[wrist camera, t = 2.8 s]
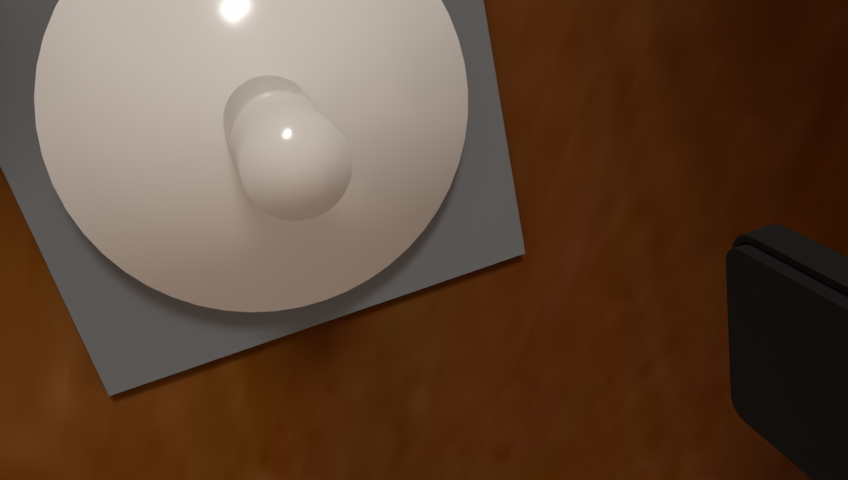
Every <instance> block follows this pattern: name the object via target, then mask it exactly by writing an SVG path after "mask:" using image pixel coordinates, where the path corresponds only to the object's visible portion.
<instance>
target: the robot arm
mask: <svg viewBox="0 0 848 480" xmlns="http://www.w3.org/2000/svg"><path fill="white" fill-rule="evenodd" d="M726 275H727V302H728V328H729V355H730V382H731V398H732V402H733V405H734V408H735V410H736V412H737V413H738V415H739V416H740V417H741V418H742V419H743V420H744V421H745V422H746V423H747V424H748V425H749V426H750V427H752V428H753V429H754V430H755V431H756V432H758V433H759V434H760V435H761V436H762V437H764V438H765V439H766V440H767V441H768V442H770V443H771V444H772V445H773V446H774V447H775V448H777V449H778V450H779V451H780V452H781V453H783V454H784V455H785V456H786V457H787V458H789V459H790V460H791V461H792V462H793V463H795V464H796V465H797V466H798V467H799V468H800V469H802V470H803V471H804V472H805V473H806V474H808V475H809V476H810V477H811V478H812V479H814V480H848V257H846V256H844V255H842V254H840V253H838V252H836V251H834V250H832V249H829V248H827V247H825V246H823V245H821V244H819V243H817V242H815V241H813V240H811V239H809V238H807V237H804V236H802V235H800V234H798V233H796V232H794V231H792V230H790V229H788V228H786V227H784V226H781V225H778V224H772V225H768V226H765V227H762V228H760V229H757V230H754V231H751V232H748V233H746V234H743V235H740V236H738V237H737V238H736V239H735V241H734V243H733V249H731V250H730V251H728V253H727V256H726Z"/></svg>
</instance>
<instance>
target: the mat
mask: <svg viewBox="0 0 848 480" xmlns="http://www.w3.org/2000/svg"><path fill="white" fill-rule="evenodd" d="M58 1H59V0H0V166H1V168H2V171H3V173H4V175H5V177H6V179H7V181H8V183H9V185H10V188H11V190H12V192H13V194H14V196H15V198H16V200H17V202H18V205H19V207H20V209H21V211H22V213H23V215H24V217H25V219H26V221H27V224H28V226H29V228H30V230H31V232H32V234H33V236H34V238H35V241H36V243H37V245H38V247H39V249H40V251H41V253H42V255H43V257H44V260H45V262H46V264H47V266H48V268H49V270H50V272H51V274H52V277H53V279H54V281H55V283H56V285H57V287H58V289H59V291H60V293H61V296H62V298H63V300H64V302H65V304H66V306H67V308H68V310H69V313H70V315H71V317H72V319H73V321H74V323H75V325H76V327H77V329H78V332H79V334H80V336H81V338H82V340H83V342H84V344H85V346H86V349H87V351H88V353H89V355H90V357H91V359H92V361H93V363H94V365H95V368H96V370H97V372H98V374H99V376H100V378H101V380H102V382H103V385H104V387H105V389H106V391H107V393H108V395H109V396H111V395H114V394H117V393H120V392H123V391H126V390H129V389H132V388H135V387H137V386H140V385H143V384H146V383H149V382H152V381H155V380H158V379H161V378H164V377H167V376H170V375H172V374H175V373H178V372H181V371H184V370H187V369H190V368H193V367H196V366H199V365H202V364H204V363H207V362H210V361H213V360H216V359H219V358H222V357H225V356H228V355H231V354H234V353H237V352H239V351H242V350H245V349H248V348H251V347H254V346H257V345H260V344H263V343H266V342H269V341H271V340H274V339H277V338H280V337H283V336H286V335H289V334H292V333H295V332H298V331H301V330H304V329H306V328H309V327H312V326H315V325H318V324H321V323H324V322H327V321H330V320H333V319H336V318H338V317H341V316H344V315H347V314H350V313H353V312H356V311H359V310H362V309H365V308H368V307H370V306H373V305H376V304H379V303H382V302H385V301H388V300H391V299H394V298H397V297H400V296H403V295H405V294H408V293H411V292H414V291H417V290H420V289H423V288H426V287H429V286H432V285H435V284H437V283H440V282H443V281H446V280H449V279H452V278H455V277H458V276H461V275H464V274H467V273H470V272H472V271H475V270H478V269H481V268H484V267H487V266H490V265H493V264H496V263H499V262H502V261H504V260H507V259H510V258H513V257H516V256H519V255H522V254H525V249H524V243H523V237H522V231H521V225H520V219H519V213H518V207H517V201H516V195H515V188H514V182H513V176H512V170H511V164H510V158H509V152H508V146H507V140H506V134H505V128H504V122H503V116H502V110H501V103H500V97H499V91H498V85H497V79H496V73H495V67H494V61H493V55H492V49H491V43H490V37H489V31H488V25H487V19H486V12H485V6H484V0H441V1H442V2H443V4H444V6H445V8H446V10H447V11H448V13H449V16H450V18H451V21H452V23H453V26H454V29H455V31H456V34H457V36H458V39H459V43H460V47H461V51H462V55H463V59H464V63H465V69H466V78H467V86H468V119H467V127H466V135H465V142H464V145H463V149H462V153H461V157H460V161H459V165H458V168H457V170H456V173H455V175H454V178H453V181H452V183H451V186H450V188H449V190H448V192H447V194H446V196H445V198H444V200H443V202H442V203H441V205H440V207H439V209H438V211H437V212H436V214H435V215H434V216H433V218H432V219H431V221H430V222H429V224H428V225H427V227H426V228H425V230H424V231H423V232H422V233H421V234H420V235H419V236H418V238H417V239H416V240H415V241H414V242H413V243H412V244H411V245H410V247H409V248H408V249H407V250H406V251H404V252H403V253H402V254H401V255H400V256H399V257H398V258H397V259H396V260H394V261H393V262H392V263H391V264H390V265H389V266H387V267H386V268H384V269H383V270H382V271H380V272H379V273H377V274H376V275H375V276H373V277H372V278H370V279H369V280H367V281H365V282H363V283H362V284H360V285H358V286H356V287H354V288H352V289H351V290H349V291H347V292H344V293H342V294H339V295H337V296H334V297H332V298H330V299H327V300H325V301H321V302H317V303H314V304H310V305H307V306H303V307H299V308H293V309H287V310H280V311H270V312H238V311H224V310H219V309H214V308H208V307H203V306H198V305H195V304H192V303H189V302H185V301H182V300H179V299H176V298H173V297H171V296H168V295H166V294H164V293H162V292H160V291H158V290H155V289H153V288H151V287H149V286H147V285H145V284H144V283H142V282H141V281H139V280H137V279H136V278H134V277H133V276H131V275H129V274H128V273H126V272H124V271H123V270H122V269H121V268H119V267H118V266H117V265H116V264H115V263H113V262H112V261H111V260H110V259H108V258H107V257H106V256H105V255H103V254H102V253H101V252H100V251H99V249H98V248H97V247H96V246H95V245H94V244H93V243H92V242H91V241H90V240H89V239H88V238H87V237H86V236H85V235H84V234H83V232H82V231H81V230H80V228H79V227H78V226H77V224H76V223H75V221H74V220H73V219H72V217H71V216H70V215H69V213H68V212H67V210H66V209H65V207H64V205H63V203H62V201H61V199H60V197H59V196H58V194H57V192H56V190H55V188H54V186H53V184H52V182H51V179H50V176H49V174H48V171H47V168H46V166H45V163H44V160H43V157H42V153H41V149H40V144H39V139H38V135H37V130H36V121H35V106H34V90H35V77H36V66H37V62H38V57H39V53H40V49H41V44H42V40H43V36H44V34H45V31H46V29H47V26H48V24H49V21H50V19H51V16H52V14H53V11H54V8H55V7H56V5H57V3H58Z"/></svg>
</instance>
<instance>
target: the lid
mask: <svg viewBox="0 0 848 480" xmlns="http://www.w3.org/2000/svg"><path fill="white" fill-rule="evenodd" d="M34 106H35V121H36V130H37V135H38V139H39V144H40V149H41V153H42V157H43V160H44V163H45V166H46V168H47V171H48V174H49V176H50V179H51V182H52V184H53V186H54V188H55V190H56V192H57V194H58V196H59V197H60V199H61V201H62V203H63V205H64V207H65V209H66V210H67V212H68V213H69V215H70V216H71V217H72V219H73V220H74V221H75V223H76V224H77V226H78V227H79V228H80V230H81V231H82V232H83V234H84V235H85V236H86V237H87V238H88V239H89V240H90V241H91V242H92V243H93V244H94V245H95V246H96V247H97V248H98V249H99V251H100V252H101V253H102V254H103V255H105V256H106V257H107V258H108V259H110V260H111V261H112V262H113V263H115V264H116V265H117V266H118V267H119V268H121V269H122V270H123V271H124V272H126V273H128V274H129V275H131V276H133V277H134V278H136V279H137V280H139V281H141V282H142V283H144V284H145V285H147V286H149V287H151V288H153V289H155V290H158V291H160V292H162V293H164V294H166V295H168V296H171V297H173V298H176V299H179V300H182V301H185V302H189V303H192V304H195V305H198V306H203V307H208V308H214V309H219V310H224V311H238V312H270V311H280V310H287V309H293V308H299V307H303V306H307V305H310V304H314V303H317V302H321V301H325V300H327V299H330V298H332V297H334V296H337V295H339V294H342V293H344V292H347V291H349V290H351V289H352V288H354V287H356V286H358V285H360V284H362V283H363V282H365V281H367V280H369V279H370V278H372V277H373V276H375V275H376V274H377V273H379V272H380V271H382V270H383V269H384V268H386V267H387V266H389V265H390V264H391V263H392V262H393V261H394V260H396V259H397V258H398V257H399V256H400V255H401V254H402V253H403V252H404V251H406V250H407V249H408V248H409V247H410V245H411V244H412V243H413V242H414V241H415V240H416V239H417V238H418V236H419V235H420V234H421V233H422V232H423V231H424V230H425V228H426V227H427V225H428V224H429V222H430V221H431V219H432V218H433V216H434V215H435V214H436V212H437V211H438V209H439V207H440V205H441V203H442V202H443V200H444V198H445V196H446V194H447V192H448V190H449V188H450V186H451V183H452V181H453V178H454V175H455V173H456V170H457V168H458V165H459V161H460V157H461V153H462V149H463V145H464V142H465V135H466V127H467V119H468V86H467V78H466V69H465V63H464V59H463V55H462V51H461V47H460V43H459V39H458V36H457V34H456V31H455V29H454V26H453V23H452V21H451V18H450V16H449V13H448V11H447V10H446V8H445V6H444V4H443V2H442V1H441V0H59V1H58V3H57V5H56V7H55V8H54V11H53V14H52V16H51V19H50V21H49V24H48V26H47V29H46V31H45V34H44V36H43V40H42V44H41V49H40V53H39V57H38V62H37V66H36V77H35V90H34Z"/></svg>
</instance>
